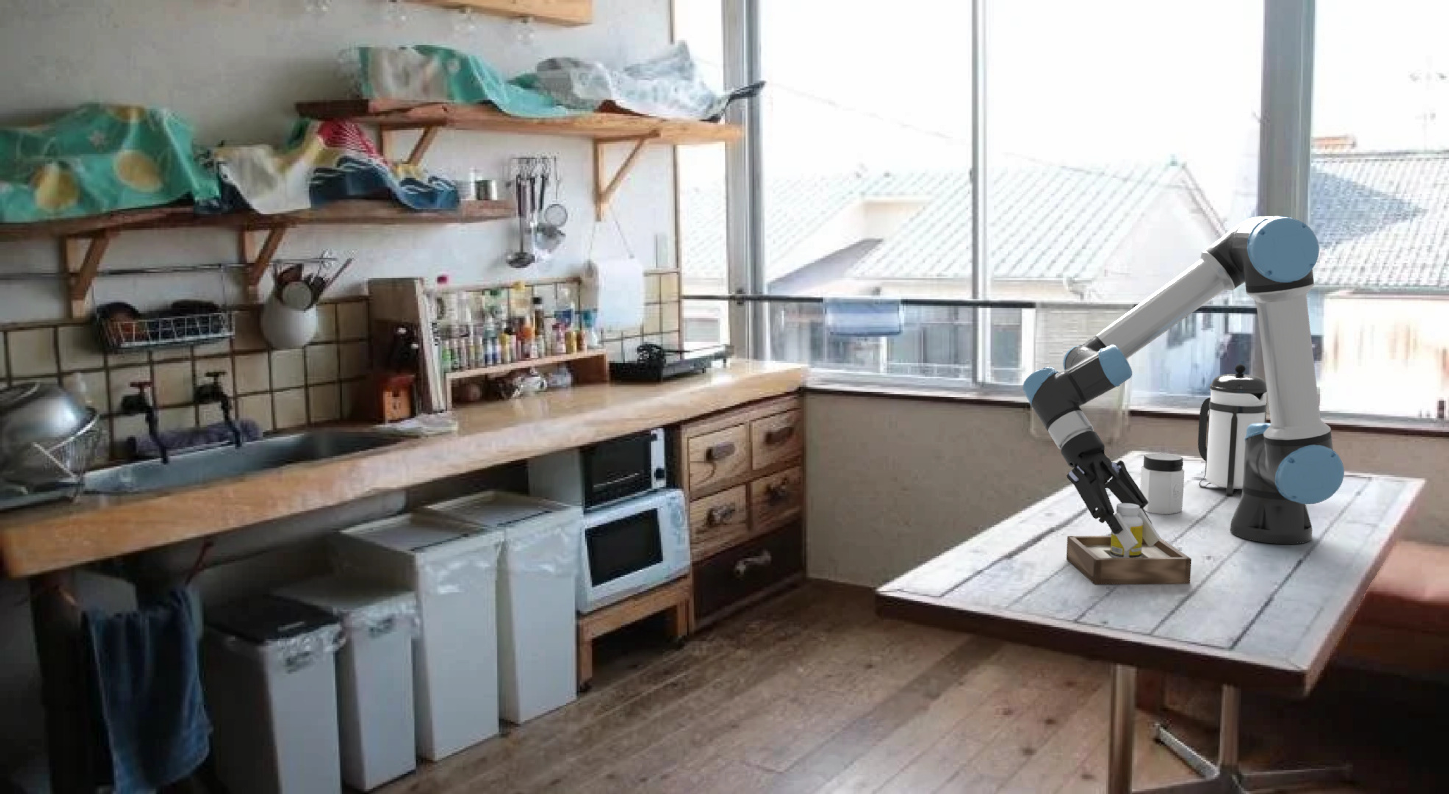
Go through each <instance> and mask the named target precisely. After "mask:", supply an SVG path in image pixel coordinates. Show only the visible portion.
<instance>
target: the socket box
mask: <svg viewBox="0 0 1449 794" xmlns="http://www.w3.org/2000/svg"><path fill="white" fill-rule="evenodd" d="M1066 537H1067V539H1066V557H1065V558H1066V560H1067V561H1068V562H1069V563H1070V564H1071V565H1072V566H1073V567H1074V568H1076V569H1077V570H1078V571H1079V572H1080V573H1081V574H1082V575H1083V576H1084V577H1085V578H1087V579H1088V580H1089V581H1090V582H1091V583H1092V584H1094V585H1095V586H1096V585H1163V584H1164V585H1173V584H1175V585H1176V584H1179V585H1180V584H1181V585H1182V584H1185V585H1186V584H1191V574H1192V573H1191V571H1192V558H1191V557H1190V556H1188V555H1187V554H1185V553H1184V552H1182V551H1180V550H1179V549H1177V548H1176V547H1174V546H1173V545H1171V544H1170V543H1169V542H1167V541H1165V540H1164V539H1163V538H1161V539H1160V540H1158V541H1157V542H1156V543H1155V544H1154V545H1153V546H1151V547H1149V546H1148V545H1147V543H1146V542H1145V540H1144V539H1143V537H1142V553H1141V558H1112V557H1111V535H1067V536H1066Z"/></svg>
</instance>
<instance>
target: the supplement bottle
mask: <svg viewBox="0 0 1449 794" xmlns="http://www.w3.org/2000/svg"><path fill="white" fill-rule="evenodd" d="M1139 512H1140V506H1139V505H1136V504H1131V503H1121V502H1120V503H1117V504H1116V510H1115V513H1119V514H1120V515H1121V517H1122V518H1123V520H1124V521H1125V523H1126V525H1127V526H1128V528H1129V529H1130V531H1131V533H1132V534H1133V536H1134V537H1135V539H1136V540H1137V542H1138V544H1137V545H1136V546H1134V547H1133V548H1132V549H1131V550H1130V551H1127V552H1126V551H1125V549H1124V547H1123V546H1122V544H1121V543H1120V541H1119V539H1118V538H1117V536H1116V535H1115V534H1114V533H1113V532H1112V531H1111V530H1110V531H1111V533H1110V536H1111V557H1112V558H1141V553H1142V533H1143V521H1142V519H1141V518H1140V517H1138V514H1139Z"/></svg>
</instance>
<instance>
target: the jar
mask: <svg viewBox="0 0 1449 794" xmlns="http://www.w3.org/2000/svg"><path fill="white" fill-rule="evenodd" d="M1183 466H1184V458H1183V456H1180V455H1179V454H1178V455H1177V454H1173V453H1163V452H1154V453H1153V452H1151V453H1146V454H1144V455H1143V466H1141V467H1140V468H1141V470H1140V484H1139V485H1140V488H1139V489H1140V490H1141V492H1142V493H1143V495H1144V496H1145V498H1146V499H1147V501H1148V504H1147V505H1146V506H1145V507H1144V508H1143V509H1144V511H1145V513H1152V514H1158V515H1159V514H1160V515H1161V514H1162V515H1168V516H1169V515H1172V514H1173V515H1174V514H1178V513H1182V512H1183V502H1184V501H1183V500H1184V487H1185V486H1184V482H1185V470H1184V468H1183Z"/></svg>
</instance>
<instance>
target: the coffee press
mask: <svg viewBox="0 0 1449 794" xmlns="http://www.w3.org/2000/svg"><path fill="white" fill-rule="evenodd" d="M1234 370H1235V373H1229V374H1228V373H1227V374H1221V375H1218V376H1216V377H1214V379H1212V381H1211V384H1209V390H1210V397H1207V398H1206V399H1204V401H1202V403H1201V406H1200V409H1199V418H1198V419H1199V421H1198V435H1197V447H1198V453H1199V455H1200V457H1201V459H1202V460H1204V461H1205V469H1204V476H1203V478H1202V479H1201V480H1199V482H1198V483H1199V484H1198V486H1199V487H1200V488H1202V489H1203V488H1206V487H1207V486H1208V485H1213V486H1217V487H1220V488H1226V493H1225V494H1226V496H1229V497H1233V495H1234V489H1237V490H1239V489H1240V490H1242V489H1243V471H1244V454H1245V437H1246V431H1247V427H1248V426H1249V425H1250V424H1253V423H1267V410H1268V402H1267V397H1268V395H1267V387H1266V380H1265V379H1263V378H1261V377H1260V376H1257V375H1254V374H1253V375H1252V374H1246V373H1245V374H1244V372H1245V371H1246V366H1245V365H1244V364H1242V363H1238V364H1236V366H1235V368H1234ZM1204 479H1206V481H1207V482H1208V483H1206V484H1205V485H1201V483H1202V481H1203V480H1204Z"/></svg>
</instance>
